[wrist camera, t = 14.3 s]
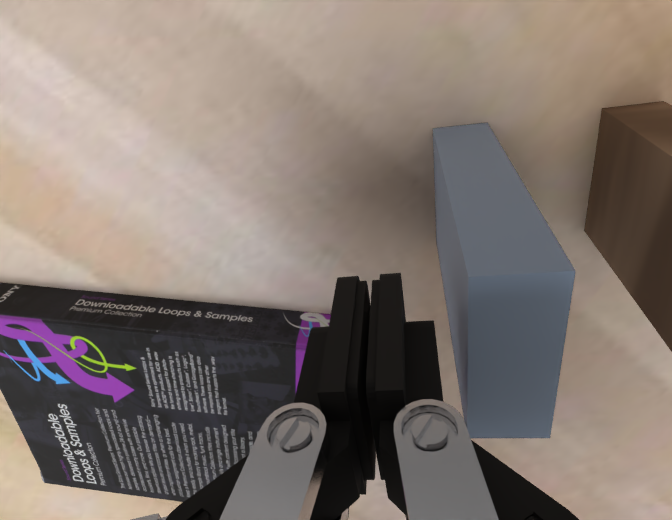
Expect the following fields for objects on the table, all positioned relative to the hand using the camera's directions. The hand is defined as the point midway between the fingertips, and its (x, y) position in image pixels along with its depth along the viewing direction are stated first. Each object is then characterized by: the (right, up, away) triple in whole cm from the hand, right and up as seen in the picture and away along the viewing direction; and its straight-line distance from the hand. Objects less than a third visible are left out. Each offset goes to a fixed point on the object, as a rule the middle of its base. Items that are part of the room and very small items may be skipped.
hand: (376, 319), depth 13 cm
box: (-9, -6, +15) cm, 19 cm away
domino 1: (+4, +5, +6) cm, 9 cm away
